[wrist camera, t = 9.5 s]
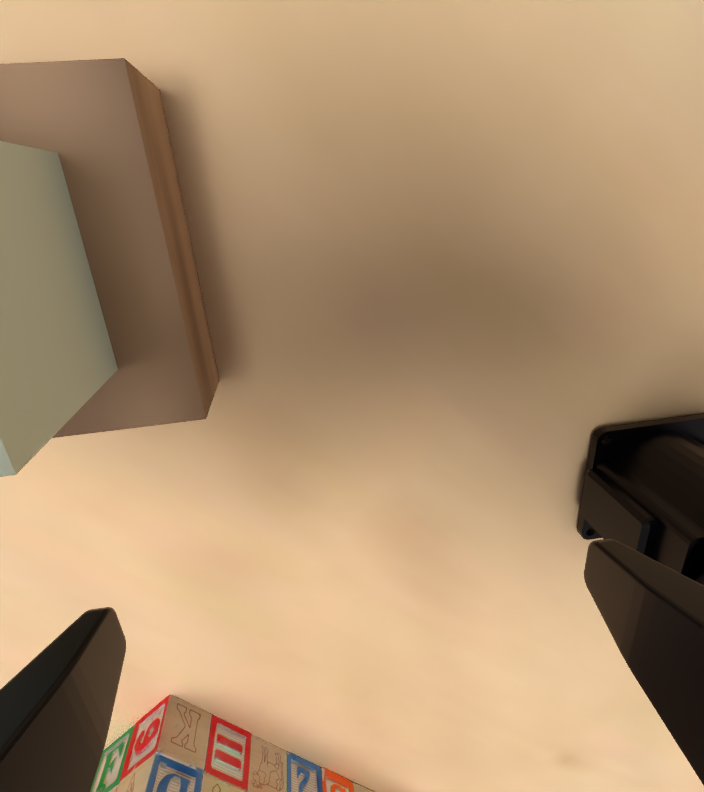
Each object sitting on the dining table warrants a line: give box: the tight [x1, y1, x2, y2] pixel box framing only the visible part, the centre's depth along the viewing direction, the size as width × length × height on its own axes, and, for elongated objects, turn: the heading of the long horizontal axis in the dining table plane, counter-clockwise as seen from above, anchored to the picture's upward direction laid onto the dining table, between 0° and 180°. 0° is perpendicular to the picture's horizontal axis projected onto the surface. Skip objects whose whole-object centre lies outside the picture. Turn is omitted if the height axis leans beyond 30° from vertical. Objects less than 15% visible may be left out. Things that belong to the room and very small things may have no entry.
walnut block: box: [0, 58, 219, 438], centre depth 15 cm, size 10×10×4 cm
